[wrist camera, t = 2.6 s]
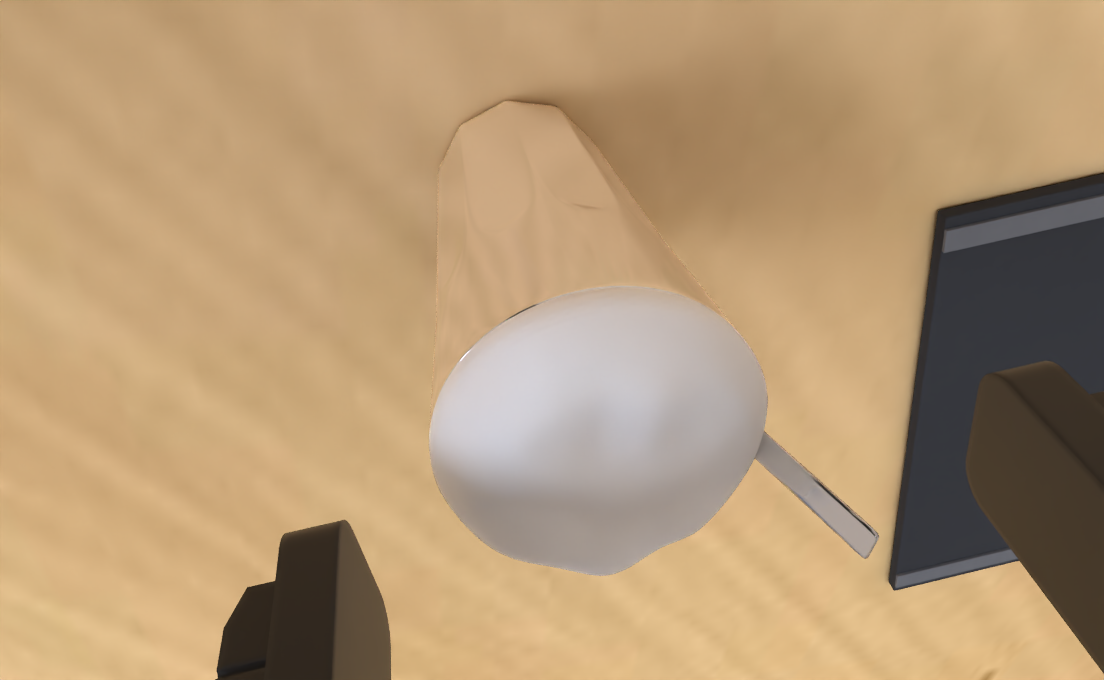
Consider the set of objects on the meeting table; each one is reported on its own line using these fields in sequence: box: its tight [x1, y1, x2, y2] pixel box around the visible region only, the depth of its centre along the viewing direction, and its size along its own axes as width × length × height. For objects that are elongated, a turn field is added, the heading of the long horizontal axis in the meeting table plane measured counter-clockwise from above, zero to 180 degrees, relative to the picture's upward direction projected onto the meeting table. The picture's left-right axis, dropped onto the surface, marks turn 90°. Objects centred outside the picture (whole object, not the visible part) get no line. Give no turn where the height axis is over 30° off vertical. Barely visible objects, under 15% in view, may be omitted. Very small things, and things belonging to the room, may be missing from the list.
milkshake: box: [429, 101, 879, 576], centre depth 14 cm, size 4×5×10 cm
